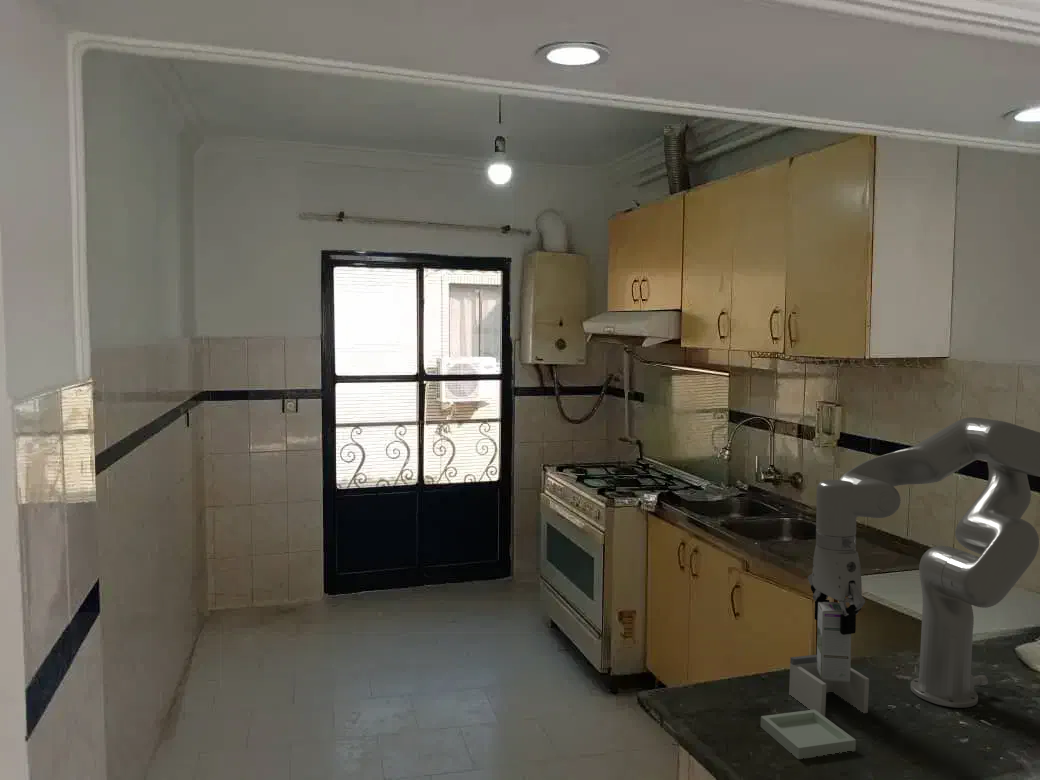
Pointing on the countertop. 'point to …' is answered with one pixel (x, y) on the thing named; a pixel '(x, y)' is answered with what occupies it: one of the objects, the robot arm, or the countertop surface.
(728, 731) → the countertop surface
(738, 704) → the countertop surface
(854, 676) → the bay
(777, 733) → the tray
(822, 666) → the syrup box
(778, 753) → the countertop surface
